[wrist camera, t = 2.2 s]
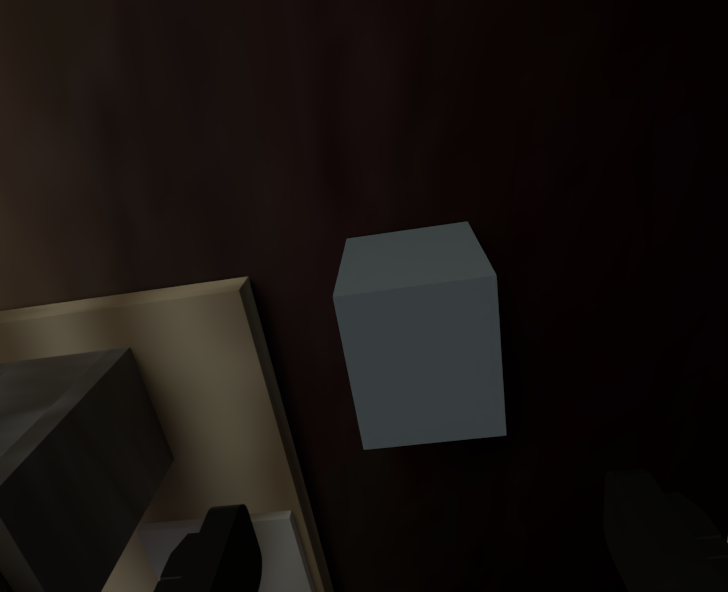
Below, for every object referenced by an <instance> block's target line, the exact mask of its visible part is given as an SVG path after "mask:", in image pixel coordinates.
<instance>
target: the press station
mask: <svg viewBox="0 0 728 592" xmlns="http://www.w3.org/2000/svg"><path fill="white" fill-rule="evenodd" d="M236 504H245V505H246V507H247V509H248V512H249V515H250V518H251V521H252V524H253V527H254V531H255V534H256V537H257V540H258V543H259V547H260V550H261V555H262V577H261V582H260V587H259V591H258V592H334V589H333V586H332V582H331V578H330V575H329V571H328V567H327V564H326V560H325V556H324V553H323V549H322V545H321V542H320V538H319V534H318V531H317V527H316V523H315V520H314V516H313V512H312V509H311V505H310V501H309V498H308V494H307V490H306V487H305V483H304V479H303V476H302V472H301V468H300V465H299V461H298V457H297V454H296V450H295V446H294V443H293V439H292V435H291V432H290V428H289V424H288V421H287V417H286V413H285V410H284V406H283V402H282V399H281V395H280V391H279V388H278V384H277V380H276V377H275V373H274V369H273V366H272V362H271V358H270V355H269V351H268V347H267V344H266V340H265V336H264V333H263V329H262V325H261V322H260V318H259V314H258V311H257V307H256V303H255V300H254V296H253V292H252V289H251V285H250V281H249V278H248V277H241V278H234V279H227V280H220V281H213V282H206V283H198V284H191V285H184V286H177V287H170V288H163V289H156V290H148V291H141V292H134V293H127V294H120V295H113V296H106V297H99V298H91V299H84V300H77V301H70V302H63V303H56V304H49V305H41V306H34V307H27V308H20V309H13V310H6V311H0V571H1V573H2V574H3V576H4V577H5V579H6V581H7V582H8V584H9V585H10V587H11V588H12V590H13V591H14V592H153V591H154V589H155V587H156V585H157V582H158V581H160V576H161V574H162V571H163V569H164V567H165V565H166V562H167V560H168V558H169V556H170V554H171V553H172V551H173V550H174V549H175V548H176V547H177V546H178V544H179V543H180V542H181V541H182V540H183V539H184V537H185V536H186V535H187V534H188V533H199V531H200V529H201V527H202V524H203V522H204V519H205V517H206V514H207V512H208V510H209V509H210V508H211V507H215V506H226V505H236Z"/></svg>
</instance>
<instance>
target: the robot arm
mask: <svg viewBox="0 0 728 592" xmlns="http://www.w3.org/2000/svg"><path fill="white" fill-rule="evenodd" d="M603 525H604V533H605V538H606V542H607V546H608V549H609V551H610V554H611V556H612V558H613V560H614V563H615V565H616V567H617V569H618V571H619V573H620V575H621V577H622V579H623V581H624V583H625V585H626V587H627V589H628V592H728V543H727V541H726V540H725V539H723V538H722V537H721V533H720V532H719V531H718V529H717V528H716V527H715V525H714V524H713V523H712V521H711V520H710V519H709V517H708V516H707V515H706V513H705V512H704V511H703V510H702V509H701V508H699V507H698V506H697V505H695V504H694V503H692V502H691V501H690V500H688V499H687V498H686V497H684V496H683V495H682V494H680V493H679V492H674V493H663V492H662V490H661V489H660V487H659V486H658V484H657V483H656V481H655V480H654V478H653V477H652V476H651V474H650V473H649V472H648V471H647V470H646V469H633V470H622V471H611V472H607V473H606V476H605V496H604V521H603ZM261 577H262V555H261V550H260V547H259V543H258V540H257V537H256V534H255V531H254V527H253V524H252V521H251V518H250V515H249V512H248V509H247V507H246V505H245V504H236V505H226V506H215V507H211V508H210V509H209V510H208V512H207V514H206V517H205V519H204V522H203V524H202V527H201V529H200V531H199V533H188V534H187V535H186V536H185V537H184V539H183V540H182V541H181V542H180V543H179V544H178V546H177V547H176V548H175V549H174V550H173V551H172V553H171V554H170V556H169V558H168V560H167V562H166V565H165V567H164V569H163V571H162V574H161V576H160V581H158V582H157V585H156V587H155V589H154V591H153V592H258V591H259V587H260V582H261Z"/></svg>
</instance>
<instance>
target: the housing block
mask: <svg viewBox="0 0 728 592" xmlns="http://www.w3.org/2000/svg"><path fill="white" fill-rule="evenodd" d="M333 300H334V305H335V310H336V315H337V320H338V325H339V330H340V335H341V340H342V345H343V350H344V355H345V360H346V365H347V369H348V374H349V379H350V384H351V389H352V394H353V399H354V404H355V409H356V414H357V419H358V424H359V429H360V434H361V439H362V444H363V449H364V450H366V449H376V448H386V447H396V446H406V445H416V444H426V443H436V442H446V441H456V440H466V439H476V438H486V437H496V436H505V435H506V420H505V404H504V388H503V372H502V356H501V339H500V323H499V307H498V291H497V275H496V273H495V272H494V270H493V268H492V266H491V264H490V262H489V260H488V259H487V257H486V255H485V253H484V251H483V249H482V248H481V246H480V244H479V242H478V240H477V238H476V236H475V235H474V233H473V231H472V229H471V227H470V225H469V223H468V222H460V223H454V224H447V225H440V226H433V227H426V228H419V229H412V230H405V231H398V232H391V233H384V234H377V235H370V236H363V237H356V238H349V239H347V240H346V244H345V248H344V252H343V257H342V261H341V265H340V269H339V273H338V277H337V282H336V286H335V290H334V294H333Z"/></svg>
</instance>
